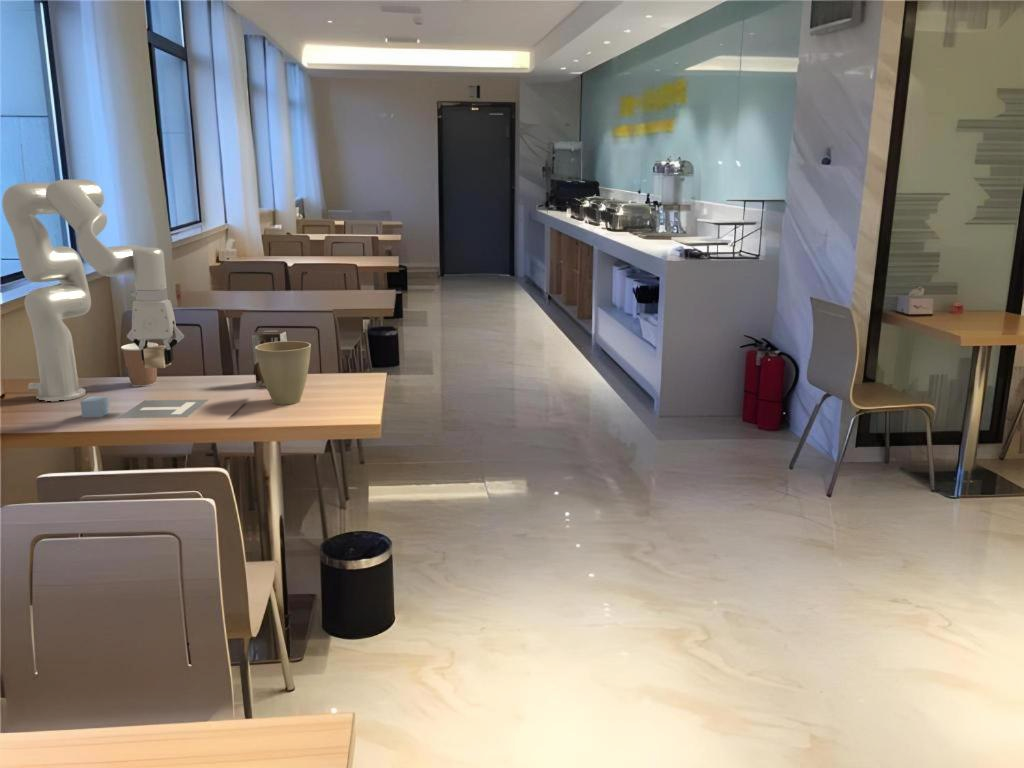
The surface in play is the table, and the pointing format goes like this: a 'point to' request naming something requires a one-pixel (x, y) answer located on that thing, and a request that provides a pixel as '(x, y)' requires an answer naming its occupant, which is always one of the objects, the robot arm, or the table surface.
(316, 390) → the table surface
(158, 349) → the wood block
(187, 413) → the letter board
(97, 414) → the blue cube
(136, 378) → the coffee cup
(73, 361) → the robot arm
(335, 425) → the table surface
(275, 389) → the plant pot
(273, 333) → the coffee box
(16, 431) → the table surface
